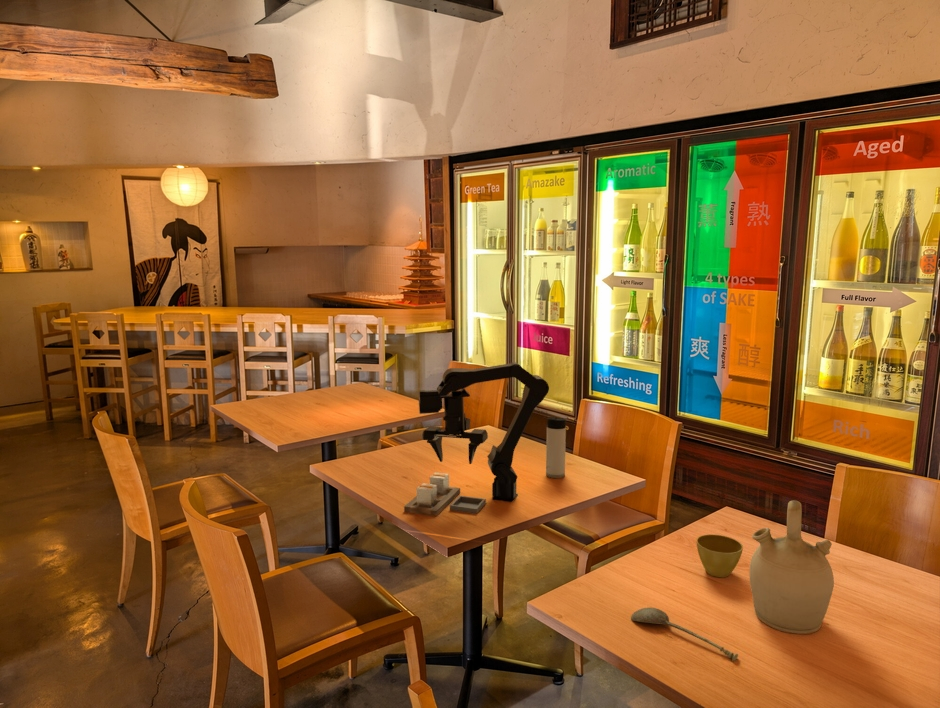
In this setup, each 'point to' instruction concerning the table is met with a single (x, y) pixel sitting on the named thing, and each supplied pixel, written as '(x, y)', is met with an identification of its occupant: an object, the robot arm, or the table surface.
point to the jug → (791, 578)
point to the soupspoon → (661, 618)
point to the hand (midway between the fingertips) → (455, 462)
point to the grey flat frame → (437, 509)
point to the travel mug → (555, 447)
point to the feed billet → (427, 495)
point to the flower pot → (719, 554)
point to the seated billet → (440, 483)
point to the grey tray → (468, 504)
